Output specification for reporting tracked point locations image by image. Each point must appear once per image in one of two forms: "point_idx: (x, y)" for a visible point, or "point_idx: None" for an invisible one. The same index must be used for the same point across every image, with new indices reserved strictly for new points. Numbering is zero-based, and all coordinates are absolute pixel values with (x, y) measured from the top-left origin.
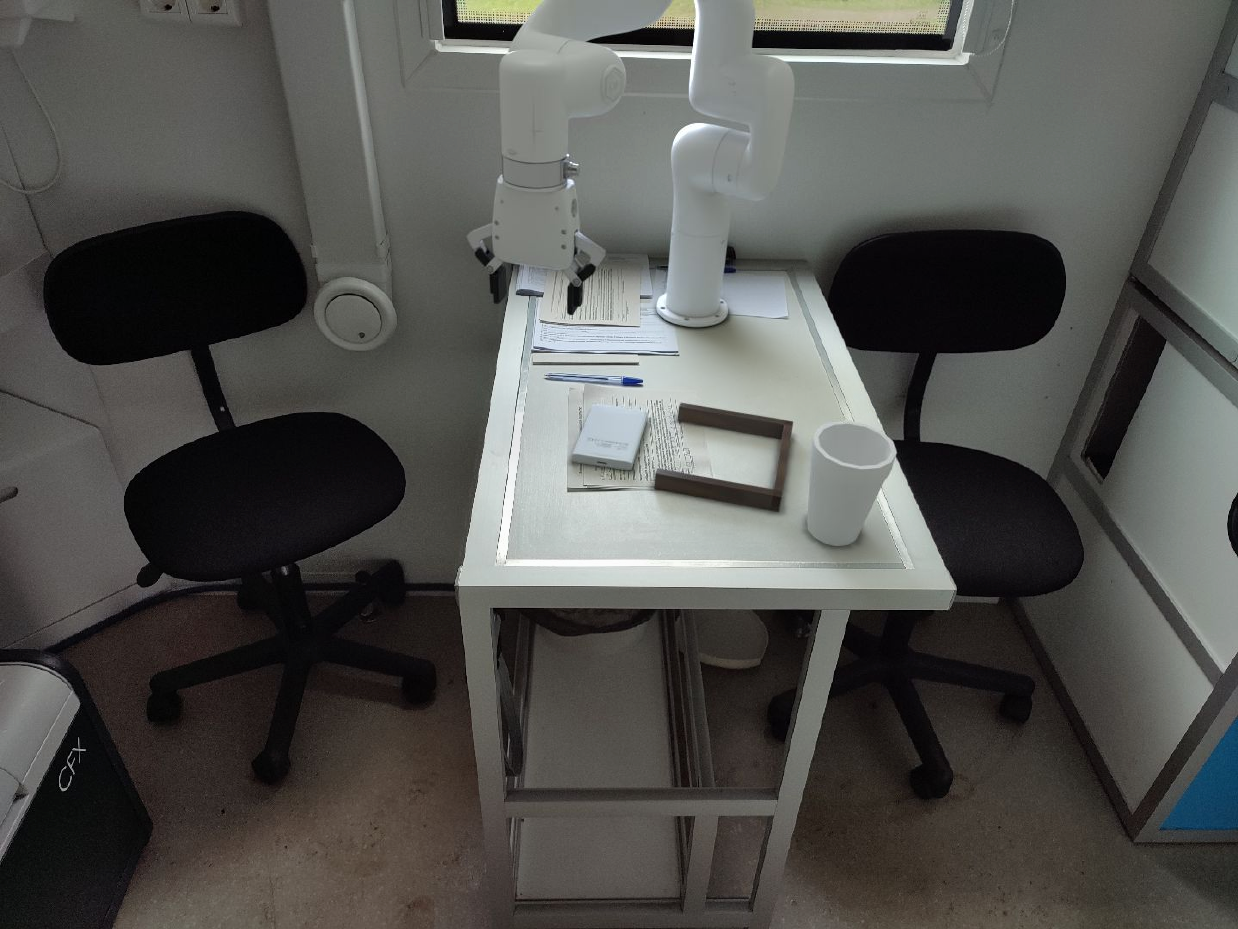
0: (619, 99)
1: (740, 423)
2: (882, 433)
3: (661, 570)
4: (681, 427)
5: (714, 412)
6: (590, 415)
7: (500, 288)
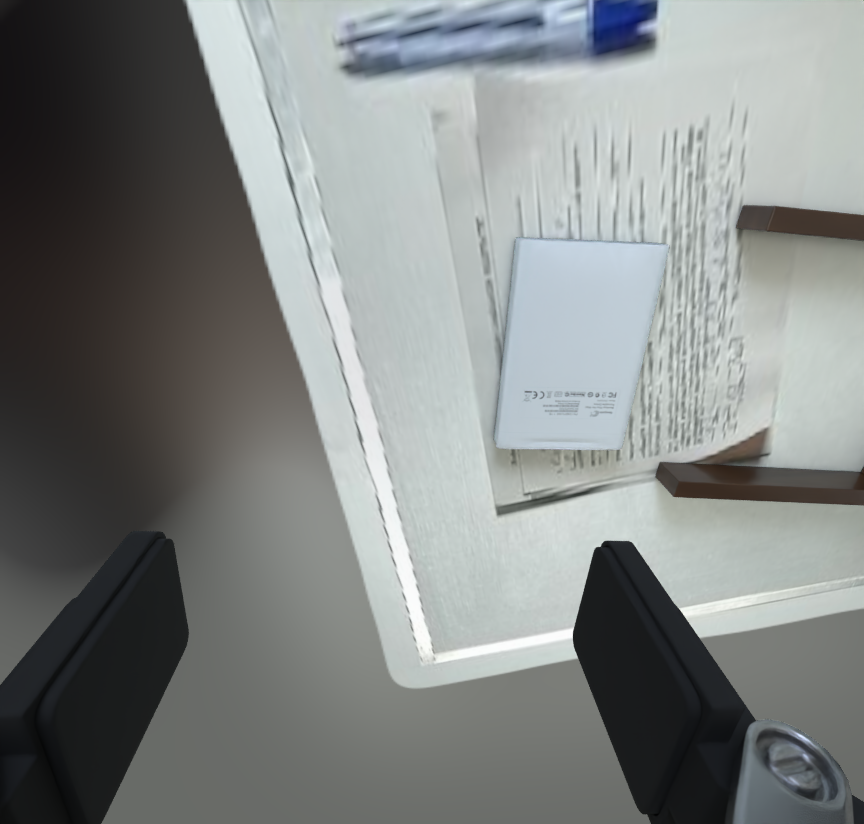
0: None
1: None
2: None
3: None
4: (740, 255)
5: (858, 238)
6: (520, 299)
7: (147, 696)
